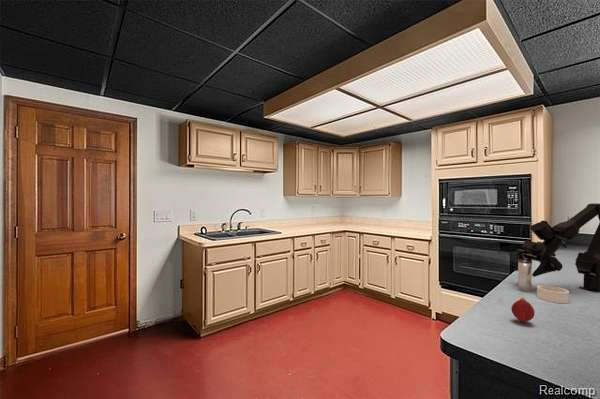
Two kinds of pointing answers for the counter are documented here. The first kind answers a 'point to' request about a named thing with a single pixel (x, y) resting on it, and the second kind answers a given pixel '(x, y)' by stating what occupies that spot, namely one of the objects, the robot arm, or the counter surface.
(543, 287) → the bowl
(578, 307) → the counter surface
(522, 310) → the onion
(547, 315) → the counter surface
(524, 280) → the canister
